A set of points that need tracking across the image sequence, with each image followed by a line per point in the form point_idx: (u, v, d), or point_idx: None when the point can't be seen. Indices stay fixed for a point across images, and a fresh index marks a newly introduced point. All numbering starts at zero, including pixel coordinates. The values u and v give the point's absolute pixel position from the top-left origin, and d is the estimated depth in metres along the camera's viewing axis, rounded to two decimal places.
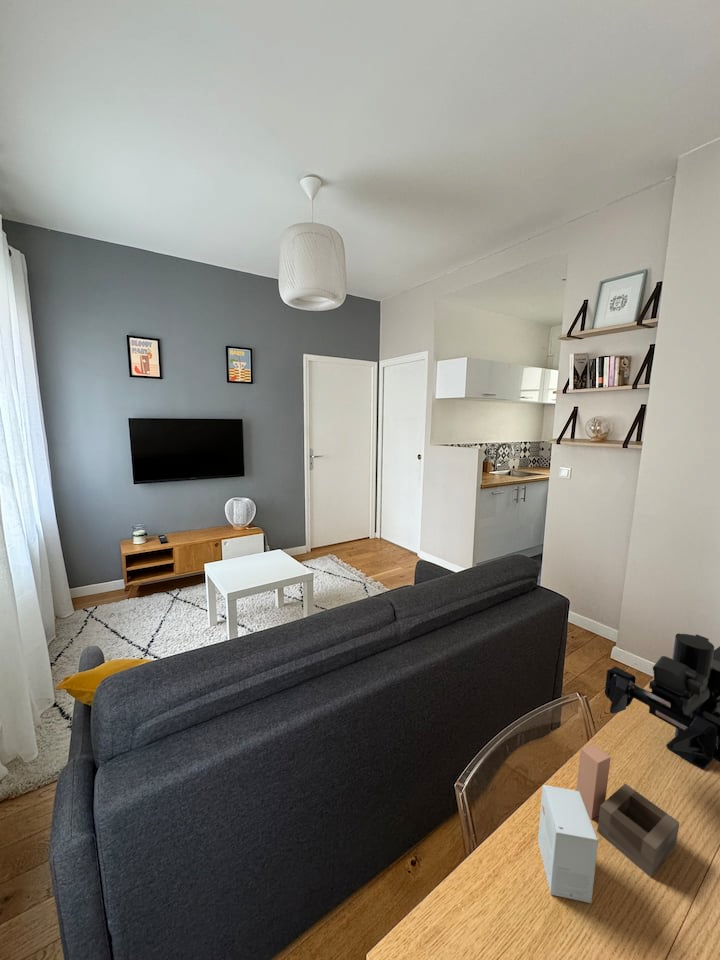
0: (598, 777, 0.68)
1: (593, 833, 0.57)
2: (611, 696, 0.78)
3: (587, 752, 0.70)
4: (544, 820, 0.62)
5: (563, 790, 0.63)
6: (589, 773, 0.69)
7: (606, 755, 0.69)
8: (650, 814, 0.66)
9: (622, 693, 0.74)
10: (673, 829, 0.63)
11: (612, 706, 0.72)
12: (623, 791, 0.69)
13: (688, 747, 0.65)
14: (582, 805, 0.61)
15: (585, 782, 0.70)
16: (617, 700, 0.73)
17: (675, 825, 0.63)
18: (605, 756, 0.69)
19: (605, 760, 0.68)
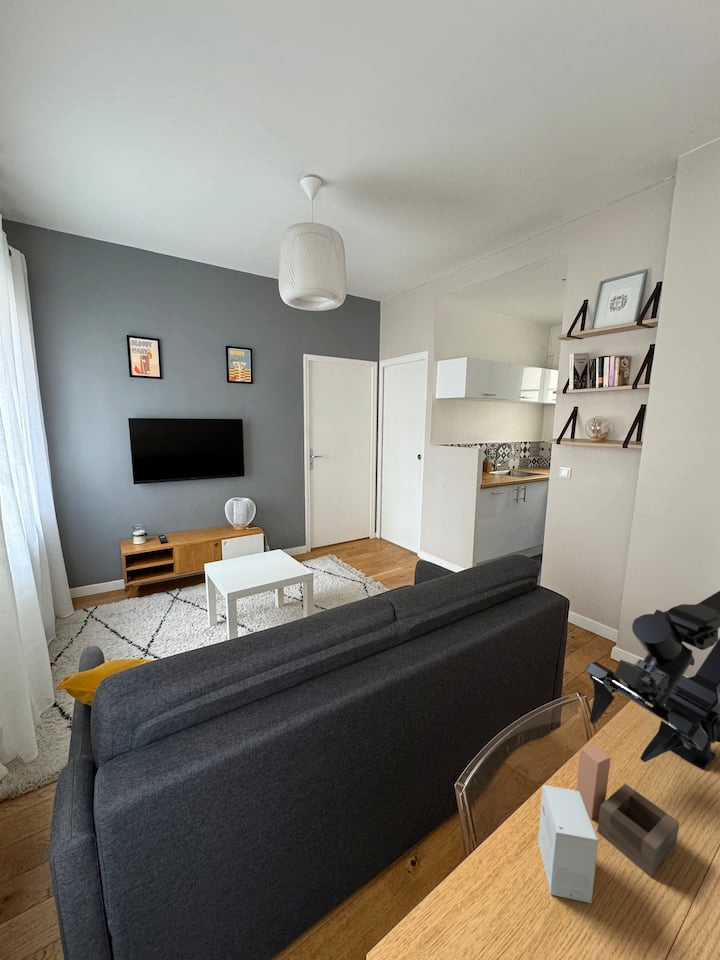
0: (598, 777, 0.68)
1: (593, 833, 0.57)
2: None
3: (587, 752, 0.70)
4: (544, 820, 0.62)
5: (563, 790, 0.63)
6: (589, 773, 0.69)
7: (606, 755, 0.69)
8: (650, 814, 0.66)
9: (599, 698, 0.76)
10: (673, 829, 0.63)
11: (591, 719, 0.76)
12: (623, 791, 0.69)
13: (662, 751, 0.67)
14: (582, 805, 0.61)
15: (585, 782, 0.70)
16: (595, 709, 0.76)
17: (675, 825, 0.63)
18: (605, 756, 0.69)
19: (605, 760, 0.68)
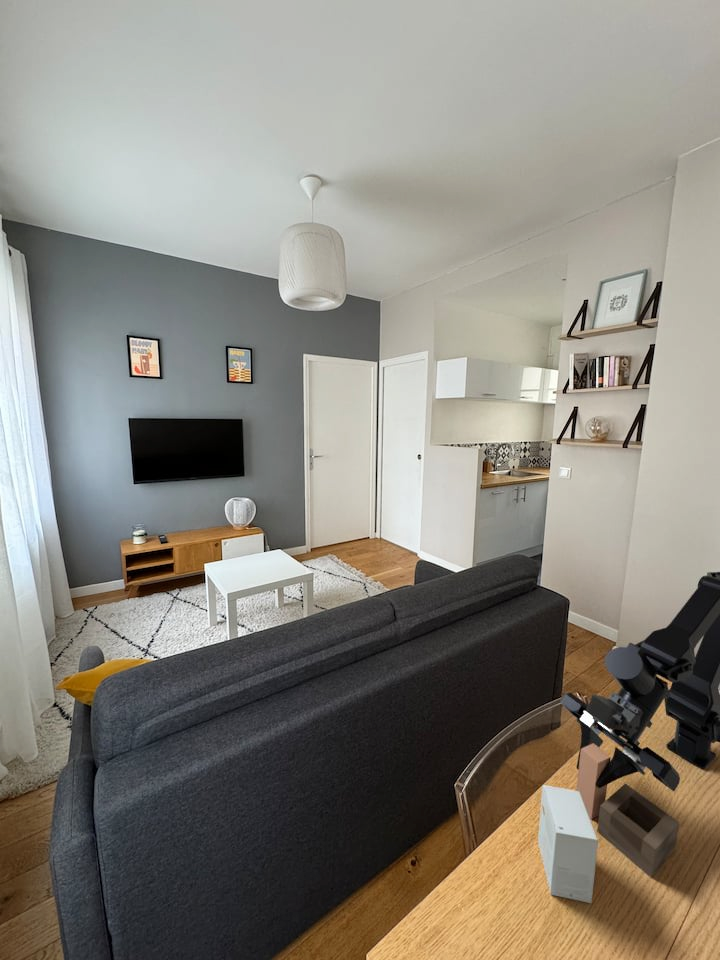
0: (598, 777, 0.68)
1: (593, 833, 0.57)
2: None
3: (587, 752, 0.70)
4: (544, 820, 0.62)
5: (563, 790, 0.63)
6: (589, 773, 0.69)
7: (606, 755, 0.69)
8: (650, 814, 0.66)
9: (587, 743, 0.72)
10: (673, 829, 0.63)
11: (578, 766, 0.71)
12: (623, 791, 0.69)
13: (617, 777, 0.68)
14: (582, 805, 0.61)
15: (585, 782, 0.70)
16: None
17: (675, 825, 0.63)
18: (605, 756, 0.69)
19: (605, 760, 0.68)
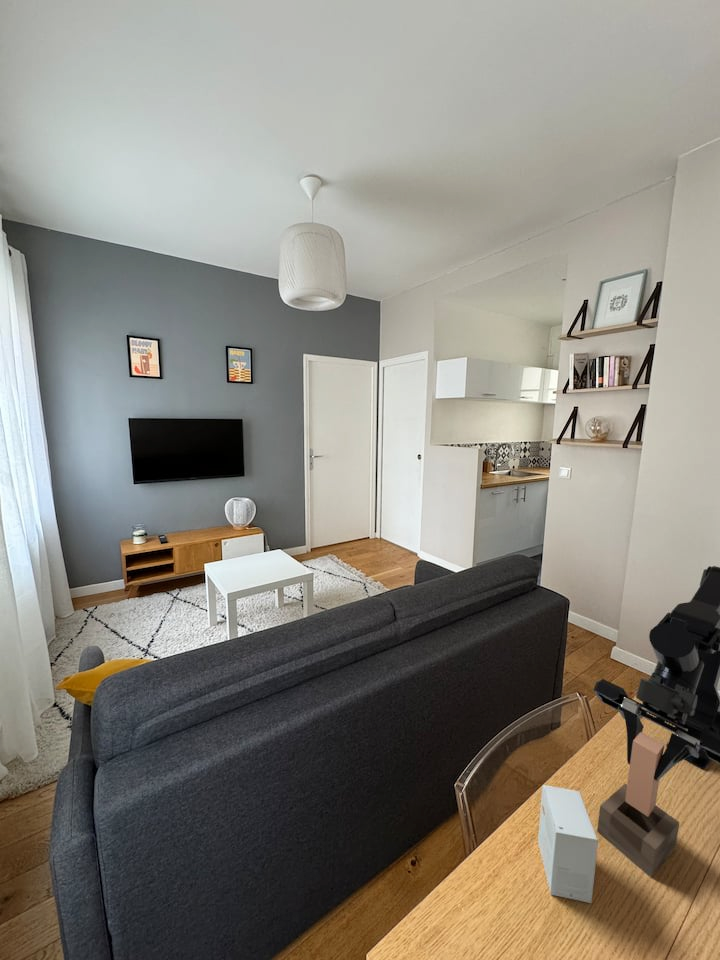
0: (655, 770, 0.62)
1: (593, 833, 0.57)
2: (625, 718, 0.70)
3: (641, 744, 0.63)
4: (544, 820, 0.62)
5: (563, 790, 0.63)
6: (645, 766, 0.62)
7: (659, 743, 0.63)
8: (650, 814, 0.66)
9: (634, 733, 0.65)
10: (673, 829, 0.63)
11: (629, 760, 0.64)
12: (623, 791, 0.69)
13: (672, 765, 0.62)
14: (582, 805, 0.61)
15: (639, 777, 0.63)
16: None
17: (675, 825, 0.63)
18: (659, 745, 0.63)
19: (661, 749, 0.62)
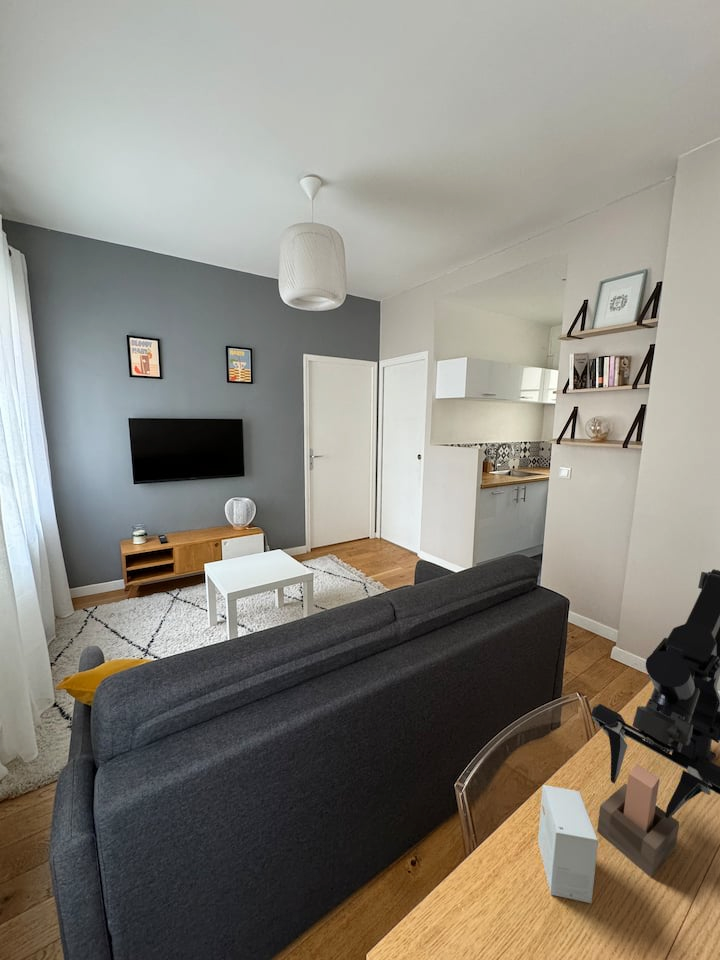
0: (651, 803, 0.63)
1: (593, 833, 0.57)
2: None
3: (636, 777, 0.64)
4: (544, 820, 0.62)
5: (563, 790, 0.63)
6: (641, 799, 0.63)
7: (655, 777, 0.64)
8: None
9: (618, 752, 0.68)
10: (673, 829, 0.63)
11: (612, 778, 0.67)
12: (623, 791, 0.69)
13: (684, 802, 0.61)
14: (582, 805, 0.61)
15: (635, 810, 0.64)
16: (615, 766, 0.67)
17: (675, 825, 0.63)
18: (655, 778, 0.64)
19: (656, 783, 0.63)
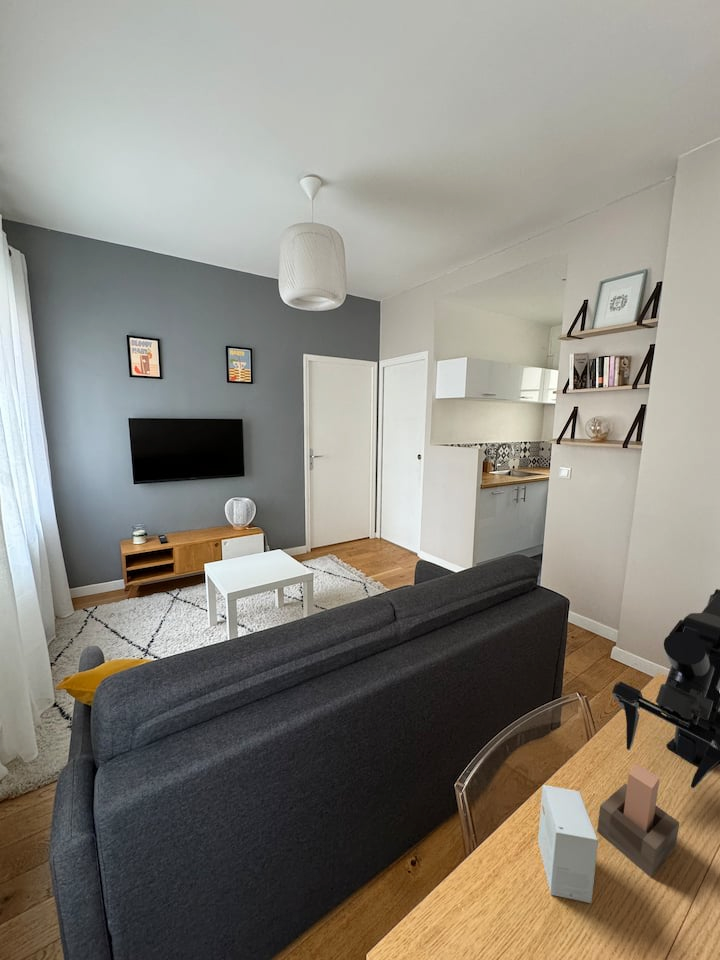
0: (651, 803, 0.63)
1: (593, 833, 0.57)
2: (623, 708, 0.78)
3: (636, 777, 0.64)
4: (544, 820, 0.62)
5: (563, 790, 0.63)
6: (641, 799, 0.63)
7: (655, 777, 0.64)
8: None
9: (633, 722, 0.74)
10: (673, 829, 0.63)
11: (628, 746, 0.72)
12: (623, 791, 0.69)
13: (707, 773, 0.67)
14: (582, 805, 0.61)
15: (635, 810, 0.64)
16: (630, 735, 0.73)
17: (675, 825, 0.63)
18: (655, 778, 0.64)
19: (656, 783, 0.63)
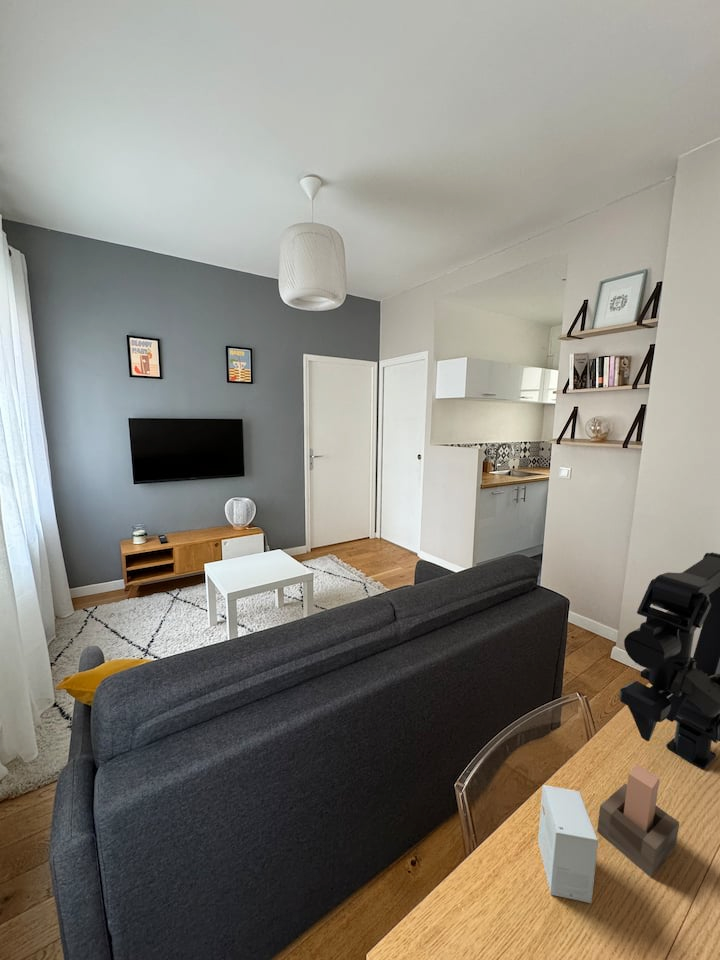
0: (651, 803, 0.63)
1: (593, 833, 0.57)
2: None
3: (636, 777, 0.64)
4: (544, 820, 0.62)
5: (563, 790, 0.63)
6: (641, 799, 0.63)
7: (655, 777, 0.64)
8: None
9: (656, 722, 0.68)
10: (673, 829, 0.63)
11: (649, 739, 0.69)
12: (623, 791, 0.69)
13: None
14: (582, 805, 0.61)
15: (635, 810, 0.64)
16: None
17: (675, 825, 0.63)
18: (655, 778, 0.64)
19: (656, 783, 0.63)
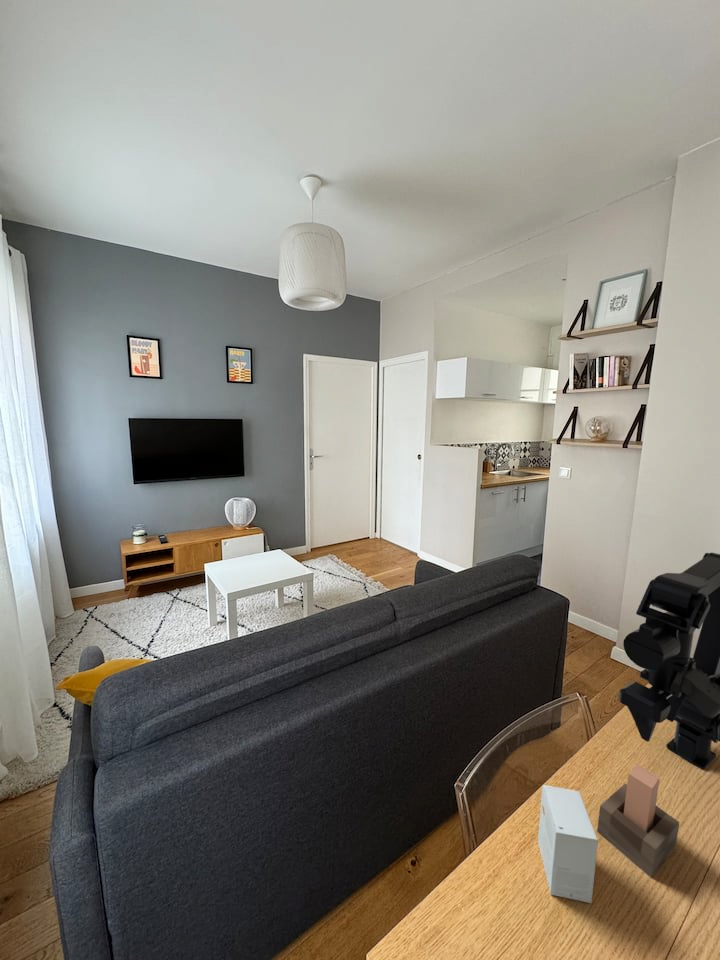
0: (651, 803, 0.63)
1: (593, 833, 0.57)
2: None
3: (636, 777, 0.64)
4: (544, 820, 0.62)
5: (563, 790, 0.63)
6: (641, 799, 0.63)
7: (655, 777, 0.64)
8: None
9: (656, 722, 0.68)
10: (673, 829, 0.63)
11: (649, 740, 0.69)
12: (623, 791, 0.69)
13: None
14: (582, 805, 0.61)
15: (635, 810, 0.64)
16: (652, 732, 0.69)
17: (675, 825, 0.63)
18: (655, 778, 0.64)
19: (656, 783, 0.63)
